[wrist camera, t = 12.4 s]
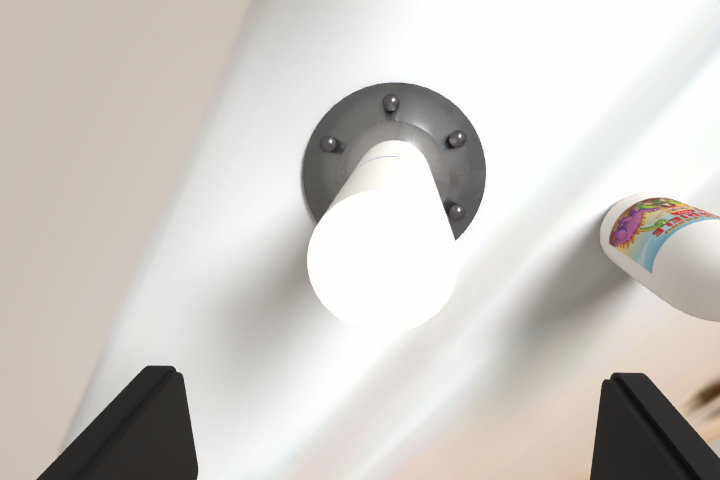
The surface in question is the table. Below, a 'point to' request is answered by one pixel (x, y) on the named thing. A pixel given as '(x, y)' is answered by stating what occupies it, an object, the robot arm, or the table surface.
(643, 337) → the table surface
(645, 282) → the milk bottle
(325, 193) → the flange
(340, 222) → the cylindrical container
